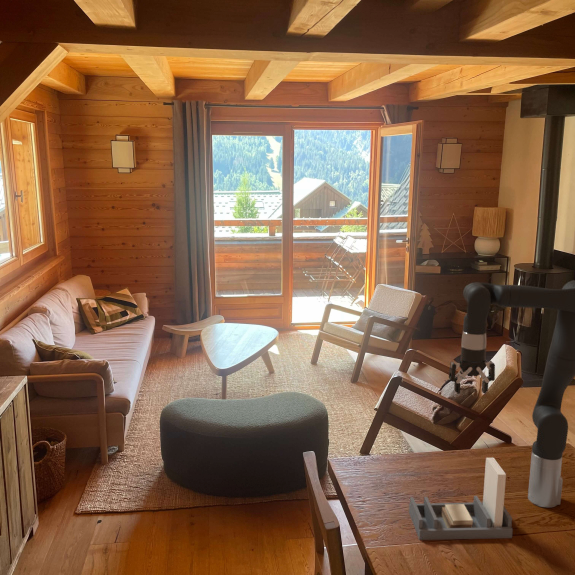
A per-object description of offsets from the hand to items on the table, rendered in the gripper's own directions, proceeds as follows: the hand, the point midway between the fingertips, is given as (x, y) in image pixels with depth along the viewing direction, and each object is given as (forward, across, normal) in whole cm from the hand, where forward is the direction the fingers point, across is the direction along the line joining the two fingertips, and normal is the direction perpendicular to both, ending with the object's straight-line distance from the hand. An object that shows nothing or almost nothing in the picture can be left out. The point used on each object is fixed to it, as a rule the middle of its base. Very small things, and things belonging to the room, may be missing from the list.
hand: (470, 392), depth 188 cm
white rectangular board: (+37, -3, +16) cm, 41 cm away
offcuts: (+37, +8, +16) cm, 41 cm away
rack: (+38, +7, +16) cm, 42 cm away
